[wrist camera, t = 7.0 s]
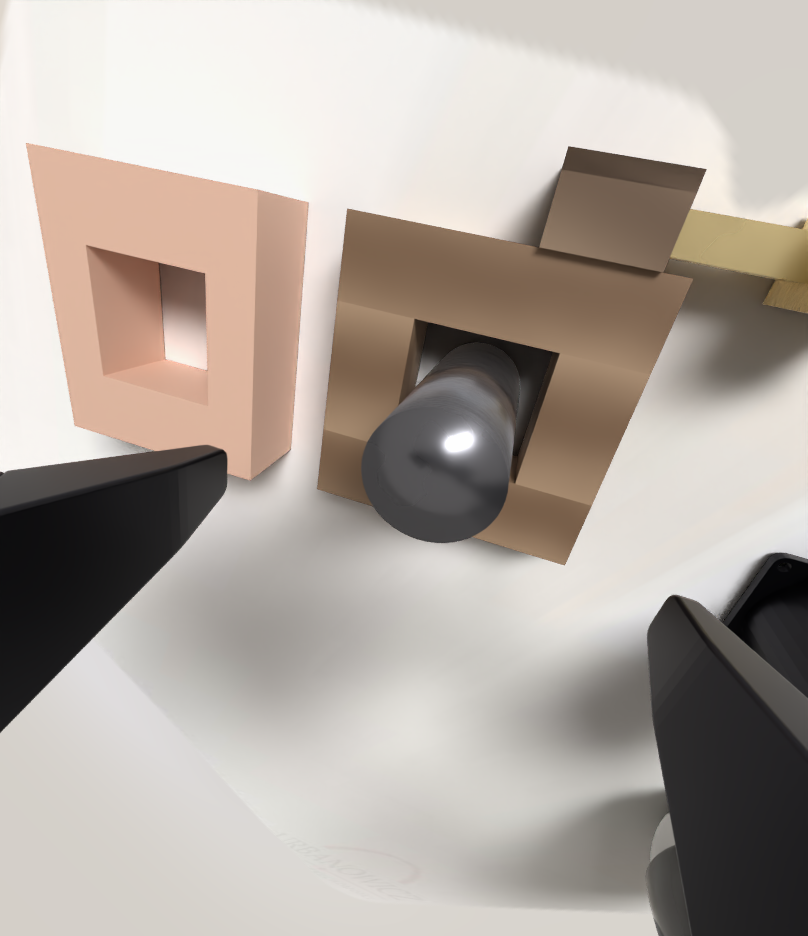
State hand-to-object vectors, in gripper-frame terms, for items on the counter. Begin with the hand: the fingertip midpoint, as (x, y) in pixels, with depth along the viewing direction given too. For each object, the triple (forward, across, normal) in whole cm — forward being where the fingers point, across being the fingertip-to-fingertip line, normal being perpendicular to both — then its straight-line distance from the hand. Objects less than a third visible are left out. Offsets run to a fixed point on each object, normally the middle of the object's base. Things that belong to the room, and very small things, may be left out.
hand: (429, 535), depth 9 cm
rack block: (+13, +14, +1) cm, 20 cm away
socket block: (+13, 0, -1) cm, 13 cm away
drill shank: (+13, 0, +1) cm, 13 cm away
